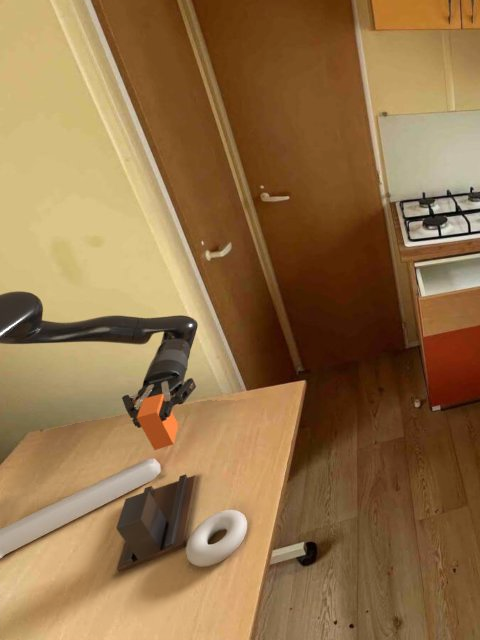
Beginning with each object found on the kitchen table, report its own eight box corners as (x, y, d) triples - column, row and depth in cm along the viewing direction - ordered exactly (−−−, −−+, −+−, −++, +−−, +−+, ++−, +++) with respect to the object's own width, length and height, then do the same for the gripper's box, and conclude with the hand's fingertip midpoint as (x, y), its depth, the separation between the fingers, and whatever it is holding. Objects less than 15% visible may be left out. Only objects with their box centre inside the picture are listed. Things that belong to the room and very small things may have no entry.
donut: (189, 583, 76) (252, 548, 81) (182, 572, 74) (246, 538, 79) (189, 535, 83) (247, 506, 88) (183, 524, 81) (242, 496, 86)
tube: (155, 449, 96) (-9, 526, 80) (155, 458, 92) (-17, 541, 76) (164, 469, 97) (4, 549, 81) (165, 479, 93) (-3, 565, 77)
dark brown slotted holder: (119, 573, 77) (91, 537, 72) (141, 497, 90) (119, 462, 85) (184, 546, 81) (163, 511, 76) (197, 478, 94) (179, 443, 89)
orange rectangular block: (154, 450, 93) (136, 417, 88) (160, 430, 98) (143, 398, 93) (173, 444, 94) (156, 412, 90) (178, 425, 99) (162, 393, 94)
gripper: (124, 368, 99) (100, 420, 85) (196, 351, 105) (184, 397, 91) (137, 392, 103) (115, 445, 89) (206, 374, 108) (195, 422, 94)
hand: (150, 420), depth 90 cm, fingers closed on orange rectangular block, 3 cm apart
